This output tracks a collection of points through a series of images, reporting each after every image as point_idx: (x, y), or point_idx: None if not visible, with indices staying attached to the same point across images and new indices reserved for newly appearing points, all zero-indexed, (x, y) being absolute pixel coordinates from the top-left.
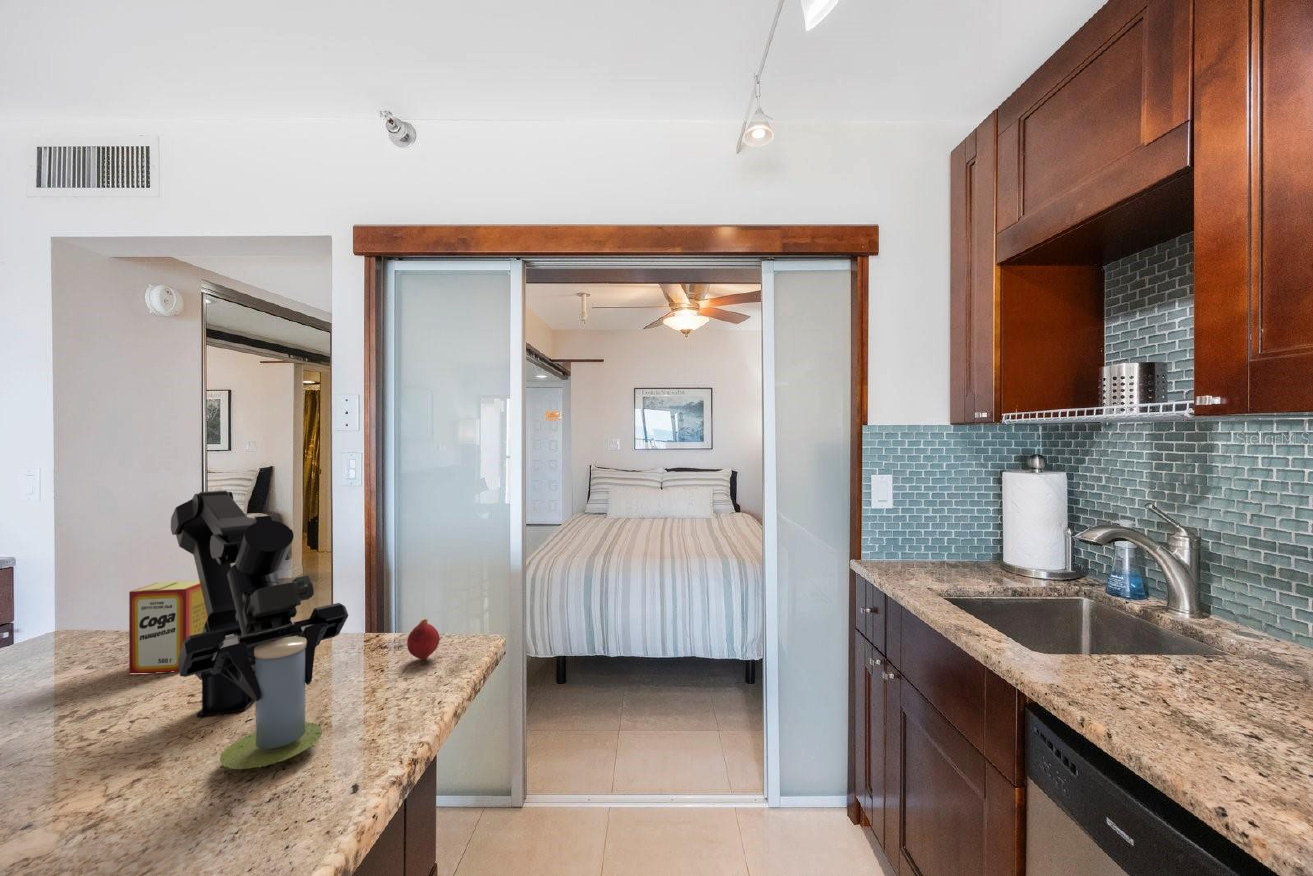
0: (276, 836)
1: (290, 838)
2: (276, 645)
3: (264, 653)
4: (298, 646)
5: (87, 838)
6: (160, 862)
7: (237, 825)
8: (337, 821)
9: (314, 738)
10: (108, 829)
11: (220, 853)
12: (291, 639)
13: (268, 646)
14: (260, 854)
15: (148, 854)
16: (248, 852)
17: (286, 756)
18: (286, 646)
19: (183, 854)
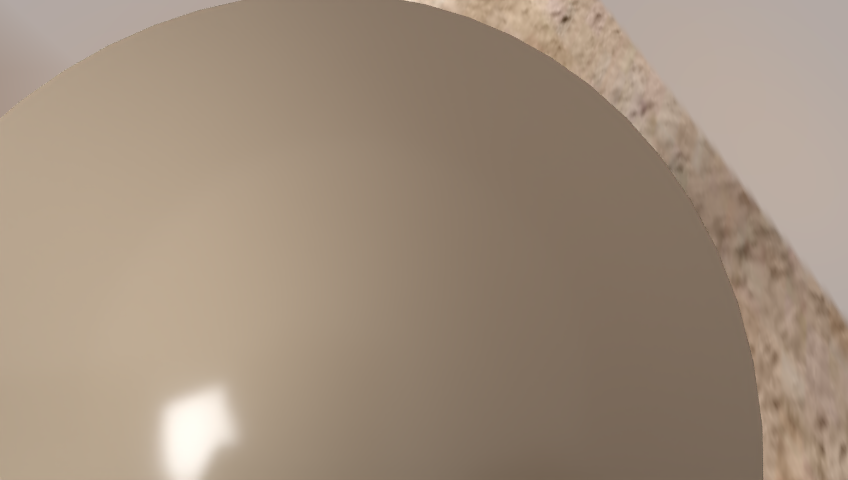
0: (564, 60)
1: (551, 34)
2: (371, 372)
3: (663, 181)
4: (244, 4)
5: (838, 440)
6: (728, 178)
7: None
8: (479, 4)
9: None
10: (798, 435)
11: (646, 104)
12: (2, 454)
13: (490, 464)
14: (601, 40)
15: (741, 227)
16: (612, 63)
17: None
18: (326, 140)
19: (693, 163)
